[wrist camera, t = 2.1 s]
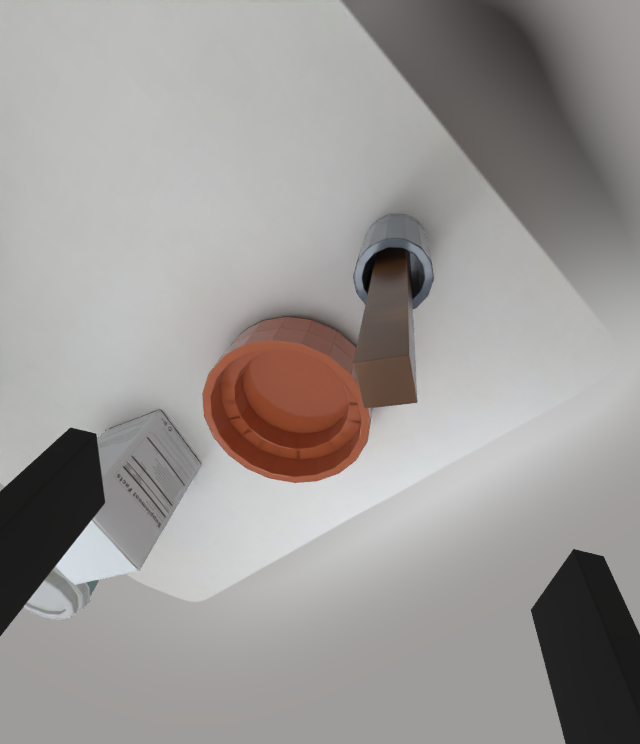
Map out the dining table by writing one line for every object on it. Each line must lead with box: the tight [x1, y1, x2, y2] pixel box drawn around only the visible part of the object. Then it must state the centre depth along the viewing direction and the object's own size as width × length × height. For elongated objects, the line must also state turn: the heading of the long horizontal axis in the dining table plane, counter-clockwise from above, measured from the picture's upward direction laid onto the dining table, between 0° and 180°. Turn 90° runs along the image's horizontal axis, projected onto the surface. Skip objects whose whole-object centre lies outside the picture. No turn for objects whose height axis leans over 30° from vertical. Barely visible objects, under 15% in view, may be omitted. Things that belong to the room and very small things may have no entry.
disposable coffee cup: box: [23, 566, 99, 620], centre depth 52 cm, size 11×11×15 cm
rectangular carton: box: [56, 410, 201, 585], centre depth 47 cm, size 9×9×15 cm
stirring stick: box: [353, 248, 417, 408], centre depth 27 cm, size 2×2×22 cm
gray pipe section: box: [353, 214, 434, 309], centre depth 33 cm, size 5×5×9 cm
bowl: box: [203, 317, 372, 483], centre depth 43 cm, size 16×16×6 cm
